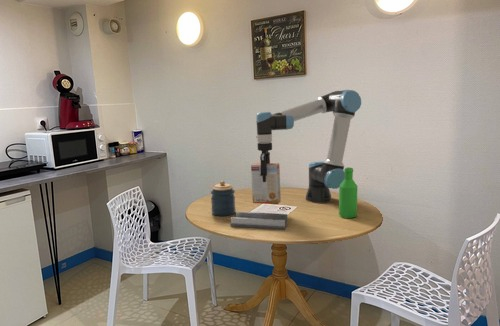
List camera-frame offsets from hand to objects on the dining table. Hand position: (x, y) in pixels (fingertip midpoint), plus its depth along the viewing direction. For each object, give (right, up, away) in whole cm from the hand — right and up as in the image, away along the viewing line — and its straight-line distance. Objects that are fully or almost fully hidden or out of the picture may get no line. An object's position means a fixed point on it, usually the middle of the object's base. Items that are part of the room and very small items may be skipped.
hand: (266, 186), depth 180 cm
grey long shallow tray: (-4, -18, -13) cm, 22 cm away
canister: (-23, -15, +6) cm, 28 cm away
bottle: (+41, -15, -5) cm, 44 cm away
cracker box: (0, -9, +2) cm, 9 cm away
